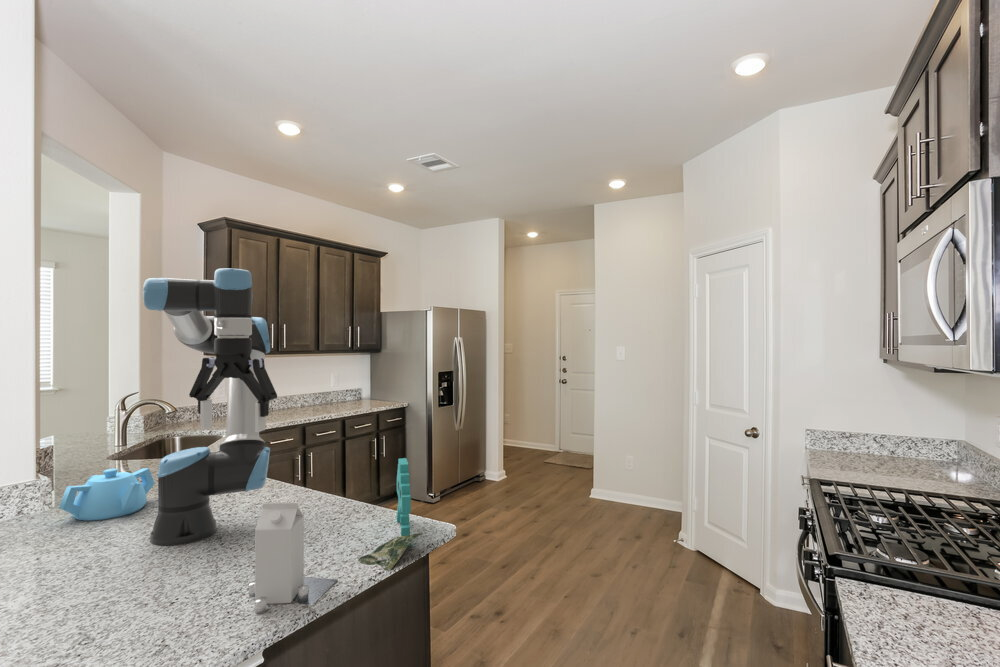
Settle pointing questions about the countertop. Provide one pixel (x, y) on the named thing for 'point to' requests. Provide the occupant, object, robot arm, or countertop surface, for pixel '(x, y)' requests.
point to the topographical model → (388, 552)
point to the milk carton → (279, 552)
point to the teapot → (108, 495)
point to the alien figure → (403, 497)
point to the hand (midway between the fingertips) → (233, 429)
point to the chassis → (305, 594)
